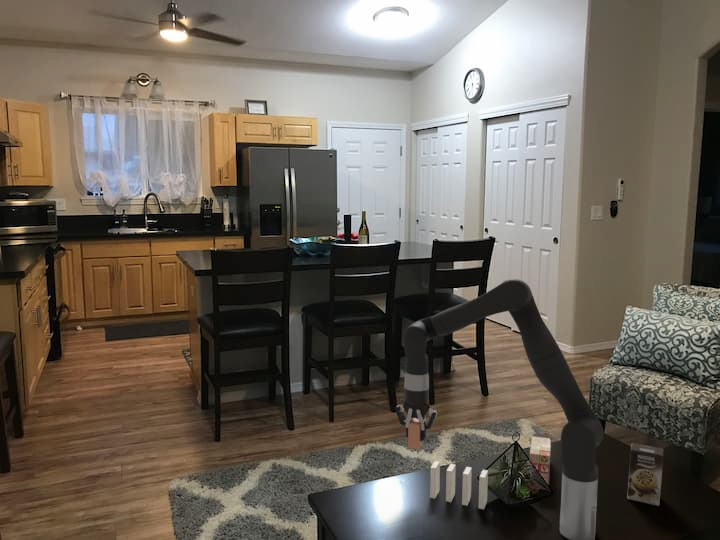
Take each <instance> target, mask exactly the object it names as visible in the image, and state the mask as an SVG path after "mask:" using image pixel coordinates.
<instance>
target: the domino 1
mask: <svg viewBox="0 0 720 540" xmlns="http://www.w3.org/2000/svg"><path fill="white" fill-rule="evenodd" d="M420 430H421V427H420V423H419V420H418V419H416V418H413V419H412V420H411V422H409V423H408V437H407V448H408V449H413V450H418V451H419V450H420V449H421V448H422V447H423V445H424V440H425V439H424V440H423V442H422V441H420Z"/></svg>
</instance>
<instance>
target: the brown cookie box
mask: <svg viewBox="0 0 720 540" xmlns="http://www.w3.org/2000/svg"><path fill="white" fill-rule="evenodd" d="M664 451H665V450H664V448H663V447H662V448H661V447H656V446H652V445H646V444H640V443H634V442H632V443H631V445H630V457H629V468H628V469H629V470H628V481H627V482H628V483H627V496H626V498H627V500H631V501H636V502H640V503H645V504H648V505H653V506H657V507H660V499H661V491H662V490H661V489H662V488H661V487H662V478H663V477H662V475H663V463H664Z"/></svg>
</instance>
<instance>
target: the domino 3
mask: <svg viewBox="0 0 720 540" xmlns="http://www.w3.org/2000/svg"><path fill="white" fill-rule="evenodd" d="M456 465H457V464H455V463H450V464H449V466H448V467H447V469H446V475H445V478H446V480H445V481H446V482H445V502H449V503H452V501H453V499H454V497H455V495H456V474H457V473H456V471H457V470H456V469H457V468H456Z"/></svg>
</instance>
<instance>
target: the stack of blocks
mask: <svg viewBox="0 0 720 540" xmlns="http://www.w3.org/2000/svg"><path fill="white" fill-rule="evenodd" d="M530 441H531V442H530V450H529V460H530V461H531V462H532V464H533V465H534V466H535V467H536V469H537V470H538V471H539V473H540V474H541V476H542V477H543V478H544V480H545V481H546V483H547V484H548V485H550V467H551V447H552V445H551V444H552V442H551V438H549V437H548V438H547V437H539V436H532V438H531V440H530Z"/></svg>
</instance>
